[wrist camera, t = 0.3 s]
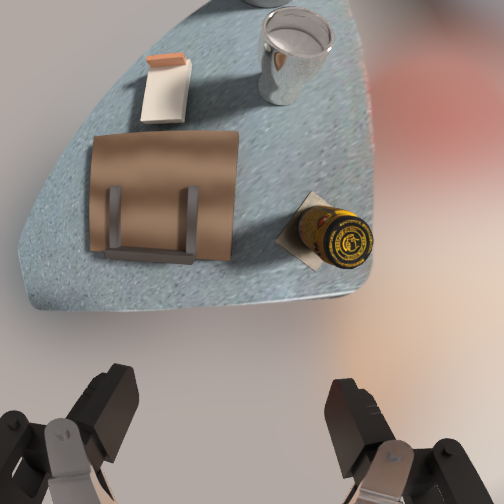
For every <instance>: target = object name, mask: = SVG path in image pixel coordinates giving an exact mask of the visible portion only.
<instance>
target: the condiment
mask: <svg viewBox="0 0 504 504" xmlns="http://www.w3.org/2000/svg"><path fill="white" fill-rule="evenodd" d="M295 228H296V229H295ZM275 242H276V243H277V244H279V245H280V246H282V247H283V248H284V249H286V250H287V251H289V252H290V253H291V254H293V255H294V256H295V257H297V258H298V259H300V260H301V261H302V262H304V263H305V264H306V265H308V266H309V267H310V268H312V269H313V270H315V271H317V270H318V268H319V267H320V266H321V264H322V263H323V262H326V263H328V264H331V265H335V266H336V267H339V268H342V269H354V268H355V267H357V266H359V265H361V264H363V263H364V262H365V261H366V259H367V258H368V257H369V255H370V253H371V251H372V246H373V235H372V232H371V230H370V228H369V226H368V224H367V223H366V222H365V221H364V220H362V219H361V218H359V217H357V216H356V215H355V214H353V213H352V212H350V211H347V210H343V209H339V208H335V207H334V208H333V207H332V206H330V205H329V204H328V203H327V202H325V201H324V200H323V199H322V198H321V197H319V196H318V195H317V194H316V193H314V192H313V191H312V192H311V193H310V194H309V196H308V197H307V198H306V200H305V201H304V202H303V204H302V205H301V207H300V208H299V209H298V211H297V212H296V213H295V215H294V216H293V218H292V219H291V220H290V222H289V223H288V224H287V226H286V227H285V228H284V230H283V231H282V233H281V234H280V235H279V237H278V238H277V239H276V241H275ZM312 251H313V252H312Z"/></svg>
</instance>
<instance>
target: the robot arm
mask: <svg viewBox="0 0 504 504" xmlns="http://www.w3.org/2000/svg"><path fill="white" fill-rule="evenodd" d="M243 1H245V2H247V3H249V4H251V5H254V6H258V7H269V8H271V7H279V6H283V5H285V4H287V3H289V2H290V1H291V0H243ZM138 404H139V393H138V388H137V384H136V379H135V374H134V370H133V368H132V367H131V366H126V365H121V364H116V363H115V364H113V365H112V366H111V368H110V369H109V371H108V372H107V373H101V374H99V375H98V376H96V377H95V378H93V379H92V381H91V382H90V384H89V385H88V388H86V389H85V391H84V392H83V395H81V396H80V398H79V399H78V401H77V402H76V403H75V405H74V407H73V408H72V409H71V411H70V412H69V414H68V415H67V417H66V418H58V419H55V420H52V421H51V422H49V423H48V424H47V425H41V424H35V423H29V421H28V419H27V418H26V416H25V415H24V414H23V413H22V412H19V411H14V410H13V411H9V412H6V413H5V414H4V415H3V416H2V417H1V418H0V504H42V501H43V499H44V496H45V494H46V491H47V489H48V487H49V489H50V493H51V497H52V500H53V503H54V504H118V503H117V501H116V499H115V497H114V495H113V493H112V491H111V488H110V486H109V484H108V482H107V480H106V477H105V475H104V472H103V470H102V468H101V465H102V463H103V461H107V462H110V463H114V461H115V458H116V456H117V453H118V451H119V449H120V446H121V444H122V441H123V439H124V437H125V435H126V432H127V430H128V427H129V425H130V423H131V421H132V418H133V416H134V414H135V411H136V409H137V407H138ZM324 415H325V420H326V423H327V427H328V430H329V433H330V436H331V440H332V443H333V446H334V449H335V453H336V456H337V459H338V462H339V466H340V468H341V472H342V476H343V478H349V477H353V478H354V481H355V483H354V484H353V486H352V487H351V489H350V491H349V493H348V494H347V496H346V498H345V500H344V501H343V503H342V504H403V502H400V498H401V496H403V499H404V502H405V504H494V503H493V501H492V499H491V497H490V495H489V493H488V491H487V489H486V488H485V486H484V484H483V482H482V480H481V479H480V477H479V475H478V473H477V471H476V469H475V468H474V466H473V464H472V463H471V461H470V459H469V457H468V455H467V454H466V452H465V450H464V449H463V447H462V446H461V444H460V443H459V442H457V441H456V440H454V439H448V438H445V439H441V440H439V441H438V442H437V443H436V444H435V445H434V447H433V448H428V449H412V448H411V446H410V445H409V444H407V443H406V442H404V441H401V440H396V439H395V437H394V435H393V433H392V431H391V429H390V427H389V425H388V424H387V422H386V420H385V418H384V416H383V414H381V411H380V409H379V407H378V406H377V403H376V401H375V400H374V398H373V396H372V395H371V394H369V393H368V392H367V391H366V390H365V389H358V387H357V385H356V383H355V381H354V380H353V379H352V378H347V379H335V380H333V382H332V385H331V388H330V391H329V395H328V398H327V401H326V404H325V409H324ZM21 457H22V461H21V462H20V464H19V466H18V468H17V470H16V472H15V474H14V476H13V478H12V472H13V470H14V469H15V467H16V465H17V463H18V461H19V459H20V458H21ZM438 488H439V489H438ZM439 490H440V491H439ZM440 492H441V493H440ZM442 497H443V498H442ZM443 499H444V500H443Z"/></svg>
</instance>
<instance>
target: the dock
mask: <svg viewBox="0 0 504 504" xmlns="http://www.w3.org/2000/svg"><path fill="white" fill-rule="evenodd" d="M238 145H239V132H236V131H200V130H187V131H153V132H136V133H124V134H113V135H104V136H95V137H94V142H93V151H92V162H91V176H90V201H89V228H90V251H99V252H105V258H111V259H123V260H135V261H147V262H159V263H172V264H186V265H192V264H193V262H194V261H195V260H196V259H207V260H222V261H230V259H231V251H232V233H233V217H234V201H235V186H236V172H237V158H238Z"/></svg>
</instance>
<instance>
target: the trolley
mask: <svg viewBox="0 0 504 504" xmlns="http://www.w3.org/2000/svg"><path fill="white" fill-rule="evenodd" d="M146 61H147V62H148V64H149V65H150V68H149V73H148V78H147V83H146V89H145V94H144V100H143V107H142V114H141V122H143V123H144V124H163V123H184V122H185V113H186V105H187V97H188V90H189V83H190V76H191V70H192V63H191V61H190V59H186V58H185V56H184V54H183V53H172V54H162V55H153V56H147V59H146Z"/></svg>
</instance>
